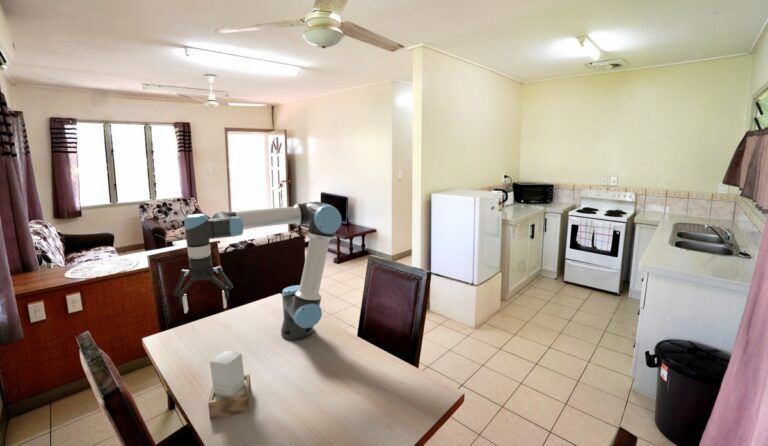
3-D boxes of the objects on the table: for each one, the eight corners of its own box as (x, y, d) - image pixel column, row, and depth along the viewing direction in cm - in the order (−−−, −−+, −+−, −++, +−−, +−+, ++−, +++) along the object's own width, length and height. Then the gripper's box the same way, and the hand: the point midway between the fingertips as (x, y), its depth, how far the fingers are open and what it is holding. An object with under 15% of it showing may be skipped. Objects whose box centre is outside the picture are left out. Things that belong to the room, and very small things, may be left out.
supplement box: (245, 385, 126) (242, 353, 124) (231, 399, 119) (227, 365, 117) (228, 381, 128) (225, 349, 126) (213, 395, 121) (209, 361, 119)
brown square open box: (251, 389, 132) (249, 374, 131) (249, 411, 121) (247, 395, 120) (215, 396, 129) (213, 380, 127) (210, 419, 117) (207, 402, 116)
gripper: (236, 250, 140) (241, 301, 145) (164, 256, 133) (172, 309, 137) (235, 255, 133) (240, 308, 137) (158, 262, 126) (166, 318, 130)
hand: (206, 309), depth 137 cm, fingers open, 13 cm apart
